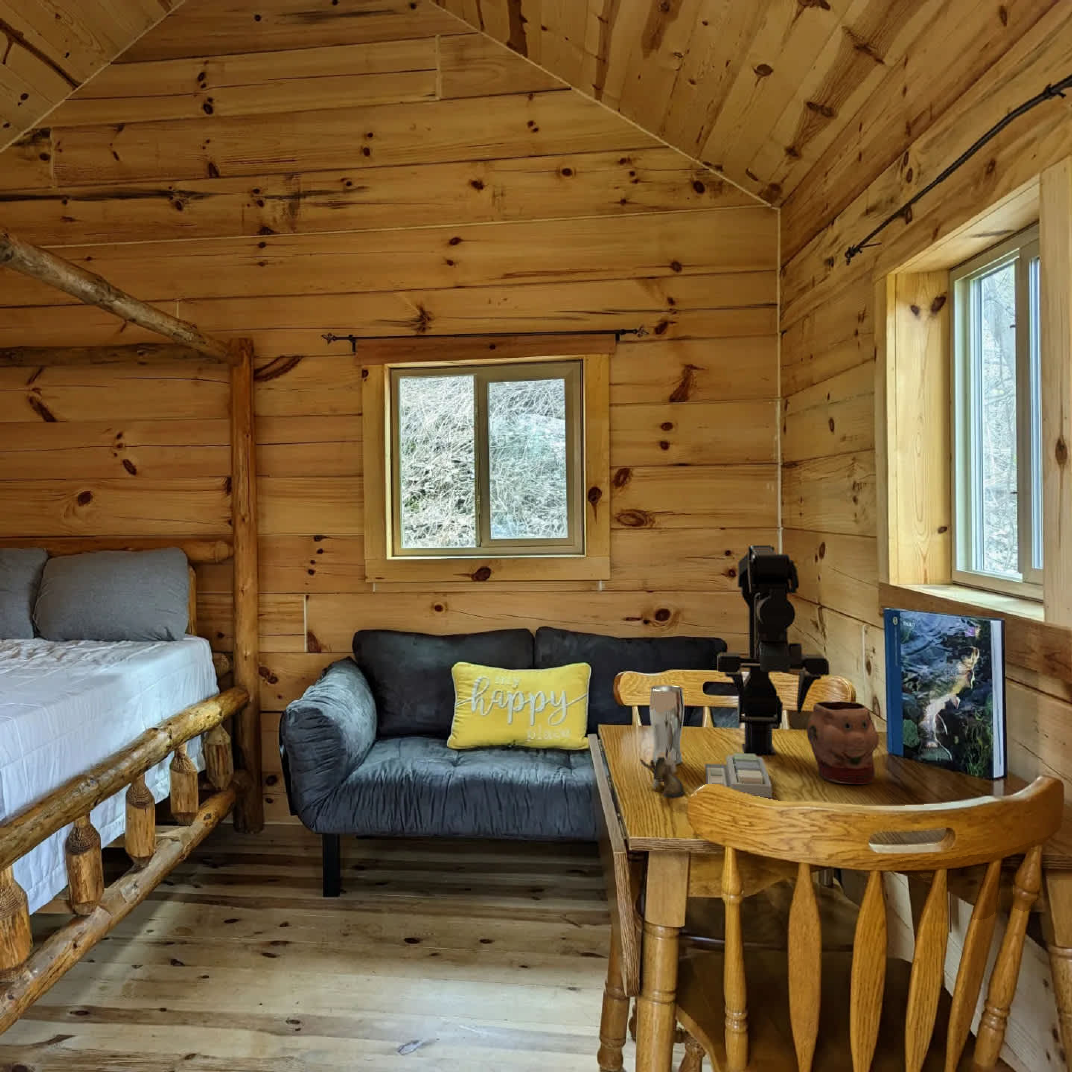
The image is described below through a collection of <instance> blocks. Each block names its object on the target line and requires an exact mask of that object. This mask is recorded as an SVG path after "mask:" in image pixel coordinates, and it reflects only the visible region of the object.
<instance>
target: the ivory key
mask: <svg viewBox="0 0 1072 1072" xmlns="http://www.w3.org/2000/svg"><path fill="white" fill-rule="evenodd" d="M738 782H739V783H758V784H763V777H762V774H761V771H749V770H738Z"/></svg>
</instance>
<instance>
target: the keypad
mask: <svg viewBox="0 0 1072 1072" xmlns="http://www.w3.org/2000/svg"><path fill="white" fill-rule="evenodd" d="M756 758H757V762H758V764H759V767H760V771H761V774H762V777H763V784H758V783H739V782H738V773H736V764H735V763H734V755H726V764H717V763H704V771H705V772H704V773H705V785H706V784H721V785H725V786H726V787H731V788H732V789H734V790H738V791H740V792H743V793H748V794H751V795H753V796H760V797H764V798H768V799H773V800H774V798H773V789H772V787H773V786H772V782H771V780H770V777H769V775H768V771H767V767H766V764H765V762H764V759H763V757H762V756H756Z"/></svg>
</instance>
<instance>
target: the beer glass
mask: <svg viewBox="0 0 1072 1072" xmlns="http://www.w3.org/2000/svg"><path fill="white" fill-rule="evenodd" d="M649 694H650V695H649V718H650V719H649V720H650V725H651V732H652V736H653V751H652V758H651V760H652V759H653V761H654V764H656V762H657V760H658V757H661V758H662V757H664V759H665V758H666V757H670V758H672V759H673V760H674V762H675V765H676V766H678V765H680V764H682V762H683V756H682V750H681V738H682V731H683V725H684V717H685V700H684V689H683V687H681V686H678V685H669V684H660V685H658V684H657V685H653V686H651V687H650V692H649Z"/></svg>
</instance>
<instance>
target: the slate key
mask: <svg viewBox="0 0 1072 1072" xmlns="http://www.w3.org/2000/svg"><path fill="white" fill-rule="evenodd" d="M738 770H749V771H760V767H759V764H758V762H741V761H736V773H738Z"/></svg>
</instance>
